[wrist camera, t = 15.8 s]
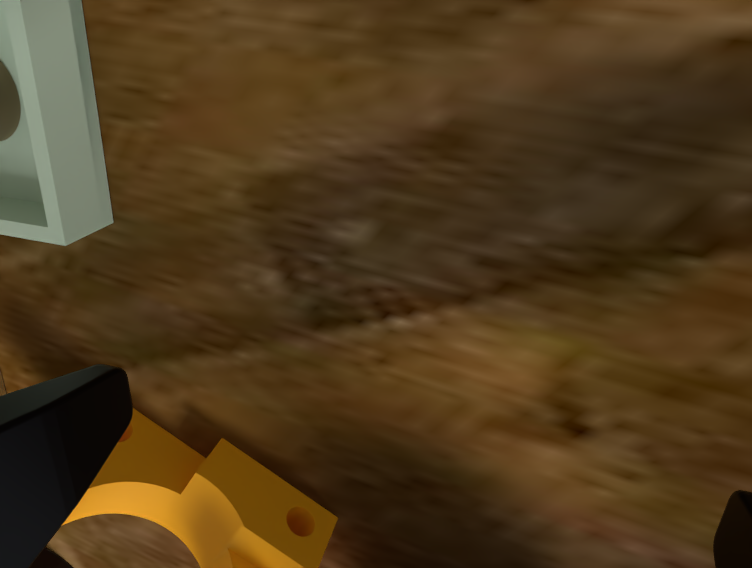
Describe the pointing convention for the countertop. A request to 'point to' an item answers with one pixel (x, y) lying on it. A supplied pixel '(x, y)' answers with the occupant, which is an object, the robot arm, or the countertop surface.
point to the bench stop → (2, 386)
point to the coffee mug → (49, 560)
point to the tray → (51, 126)
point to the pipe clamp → (209, 501)
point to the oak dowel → (8, 104)
